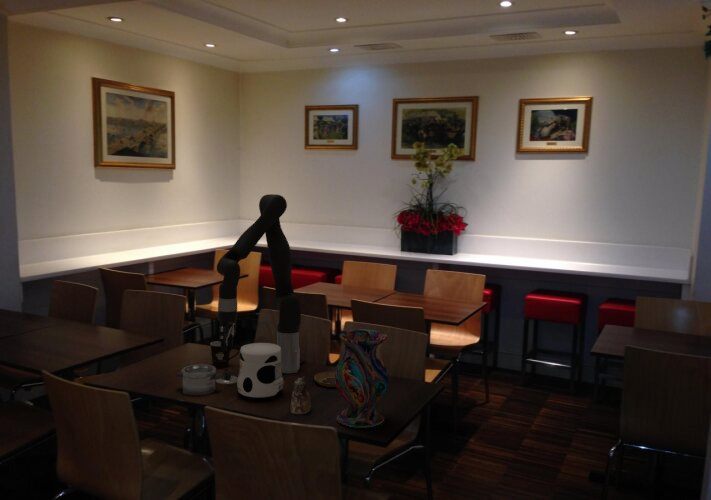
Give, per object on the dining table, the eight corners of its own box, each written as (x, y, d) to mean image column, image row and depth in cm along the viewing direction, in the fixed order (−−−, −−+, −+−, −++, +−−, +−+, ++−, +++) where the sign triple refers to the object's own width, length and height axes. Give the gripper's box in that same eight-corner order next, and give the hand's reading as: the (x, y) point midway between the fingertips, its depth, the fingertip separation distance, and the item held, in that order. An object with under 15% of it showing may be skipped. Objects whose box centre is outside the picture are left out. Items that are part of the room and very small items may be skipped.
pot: (225, 386, 242) (225, 365, 241) (214, 397, 230) (214, 375, 229) (184, 383, 244) (184, 363, 243) (171, 394, 232) (171, 373, 231)
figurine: (286, 411, 219) (286, 378, 217) (298, 405, 225) (299, 373, 223) (301, 415, 215) (302, 382, 213) (314, 409, 221) (315, 377, 219)
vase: (326, 426, 207) (328, 338, 203) (343, 407, 224) (345, 326, 220) (379, 434, 201) (382, 344, 198) (392, 414, 219) (396, 331, 215)
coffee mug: (206, 367, 264) (206, 344, 263) (216, 362, 272) (216, 339, 271) (230, 370, 261) (231, 347, 260) (240, 365, 269) (240, 342, 268)
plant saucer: (350, 390, 242) (350, 383, 242) (312, 389, 242) (312, 382, 242) (350, 377, 257) (350, 371, 257) (315, 377, 257) (315, 370, 257)
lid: (241, 378, 253) (241, 367, 252) (234, 385, 244) (234, 374, 244) (220, 376, 254) (220, 366, 253) (212, 384, 245) (212, 373, 245)
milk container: (233, 388, 239) (233, 343, 237) (277, 384, 246) (277, 340, 243) (241, 404, 223) (241, 356, 221) (288, 400, 229) (289, 352, 227)
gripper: (231, 313, 238) (230, 354, 240) (242, 305, 252) (241, 344, 254) (212, 312, 239) (211, 352, 241) (224, 304, 253) (223, 343, 255)
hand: (226, 348), depth 247 cm, fingers open, 8 cm apart
